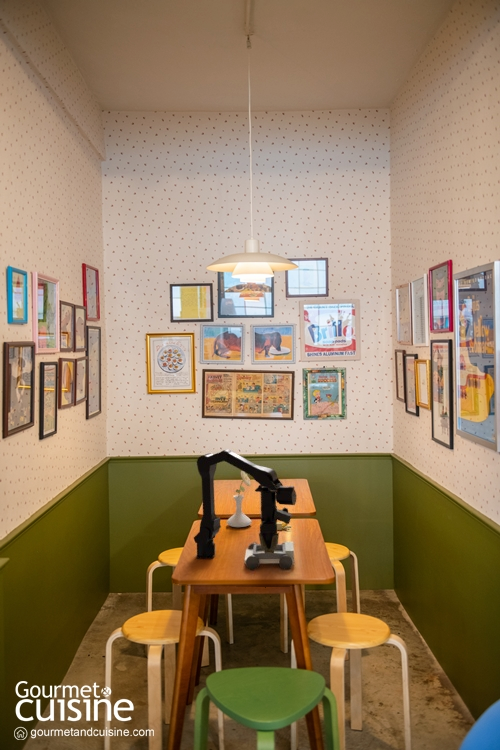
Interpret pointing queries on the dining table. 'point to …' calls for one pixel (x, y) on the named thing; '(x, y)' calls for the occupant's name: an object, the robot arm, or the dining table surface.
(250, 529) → the dining table surface
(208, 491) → the robot arm
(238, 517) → the flower in vase
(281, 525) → the character toy
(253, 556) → the car chassis
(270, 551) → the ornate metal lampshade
